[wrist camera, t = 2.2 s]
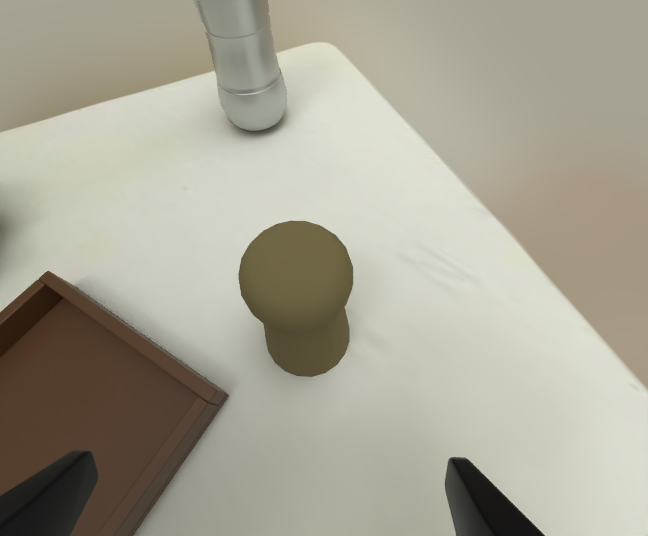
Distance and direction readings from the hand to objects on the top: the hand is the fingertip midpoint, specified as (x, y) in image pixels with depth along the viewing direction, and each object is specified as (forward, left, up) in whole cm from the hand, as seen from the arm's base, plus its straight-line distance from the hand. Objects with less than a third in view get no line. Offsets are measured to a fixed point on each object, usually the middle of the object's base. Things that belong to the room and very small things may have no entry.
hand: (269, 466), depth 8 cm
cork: (+6, +4, -13) cm, 15 cm away
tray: (-8, +14, -13) cm, 20 cm away
